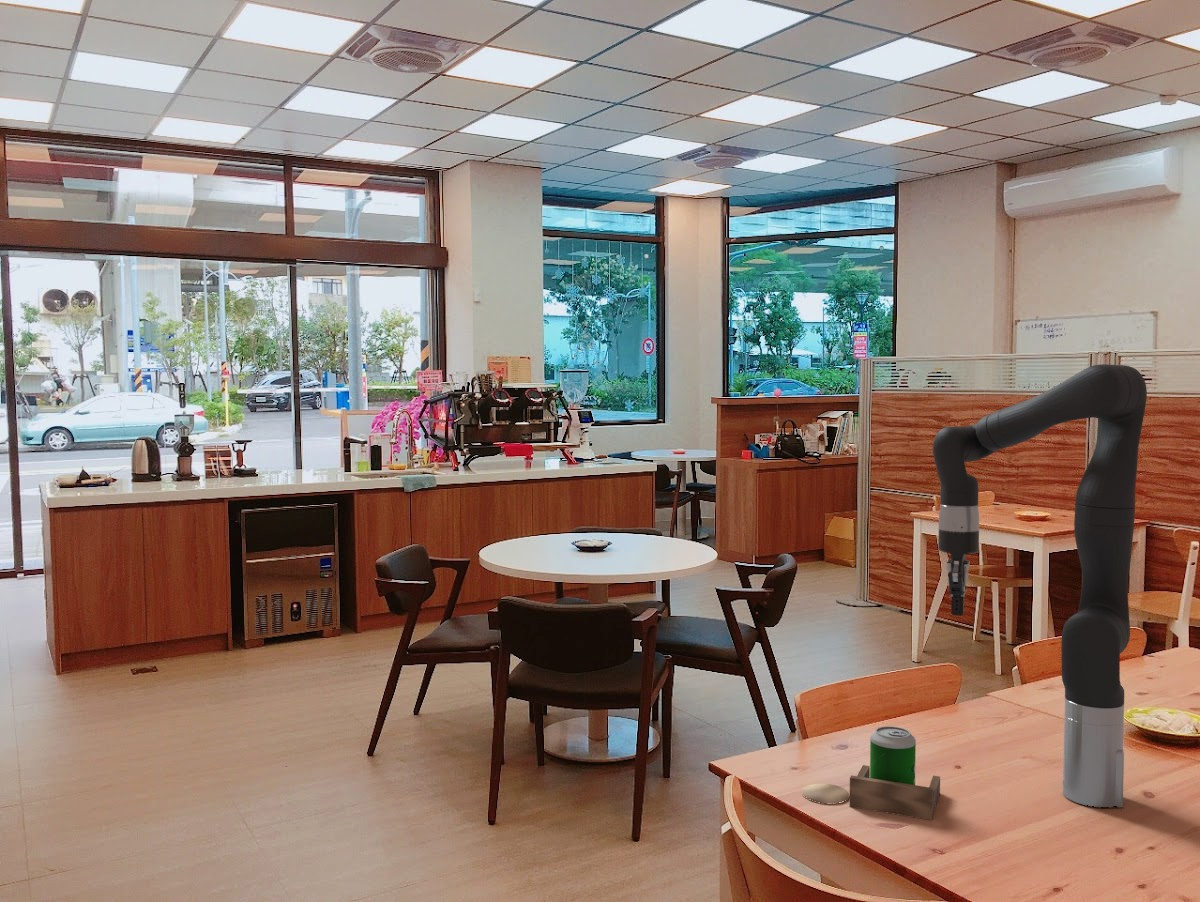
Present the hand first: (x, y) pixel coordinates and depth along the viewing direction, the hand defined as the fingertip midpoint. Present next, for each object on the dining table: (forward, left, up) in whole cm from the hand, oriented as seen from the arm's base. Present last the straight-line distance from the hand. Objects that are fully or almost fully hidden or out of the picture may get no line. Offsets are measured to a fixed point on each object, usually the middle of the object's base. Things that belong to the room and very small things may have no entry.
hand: (957, 614), depth 196 cm
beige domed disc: (+19, +34, -27) cm, 47 cm away
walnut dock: (+7, +31, -27) cm, 42 cm away
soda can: (+8, +31, -27) cm, 42 cm away
